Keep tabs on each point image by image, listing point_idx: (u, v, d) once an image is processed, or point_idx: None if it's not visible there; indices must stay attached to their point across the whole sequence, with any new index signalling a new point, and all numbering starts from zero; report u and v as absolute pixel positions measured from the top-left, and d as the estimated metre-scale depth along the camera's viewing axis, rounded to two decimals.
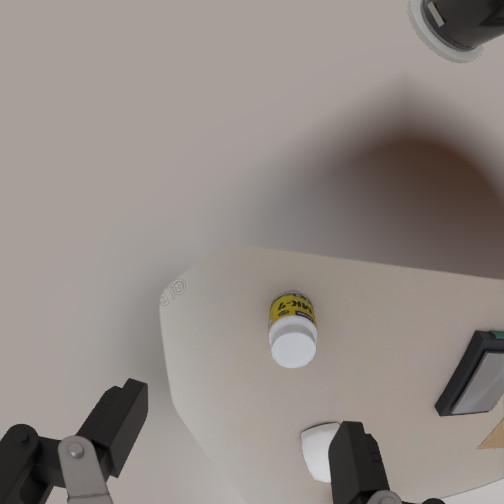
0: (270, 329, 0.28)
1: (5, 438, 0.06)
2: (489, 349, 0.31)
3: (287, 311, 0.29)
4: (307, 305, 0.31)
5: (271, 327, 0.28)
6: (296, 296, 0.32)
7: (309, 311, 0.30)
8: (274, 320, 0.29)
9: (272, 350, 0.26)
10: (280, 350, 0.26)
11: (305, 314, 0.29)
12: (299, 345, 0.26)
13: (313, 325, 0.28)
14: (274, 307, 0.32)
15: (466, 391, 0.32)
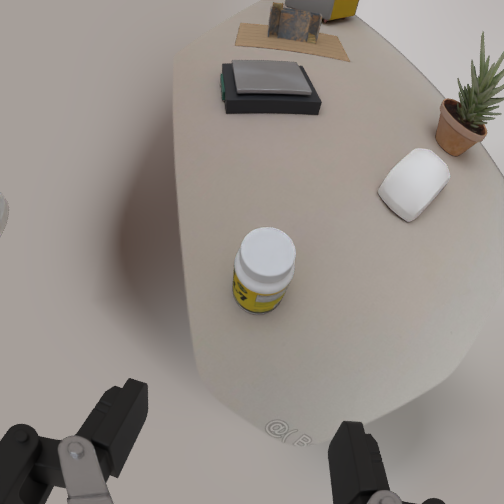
0: (263, 292, 0.23)
1: (5, 438, 0.06)
2: (236, 91, 0.41)
3: (238, 284, 0.24)
4: None
5: (260, 292, 0.23)
6: (233, 288, 0.28)
7: None
8: (252, 293, 0.23)
9: (277, 274, 0.21)
10: (273, 265, 0.21)
11: (234, 263, 0.25)
12: (257, 247, 0.22)
13: (240, 248, 0.24)
14: (251, 305, 0.26)
15: (282, 90, 0.40)
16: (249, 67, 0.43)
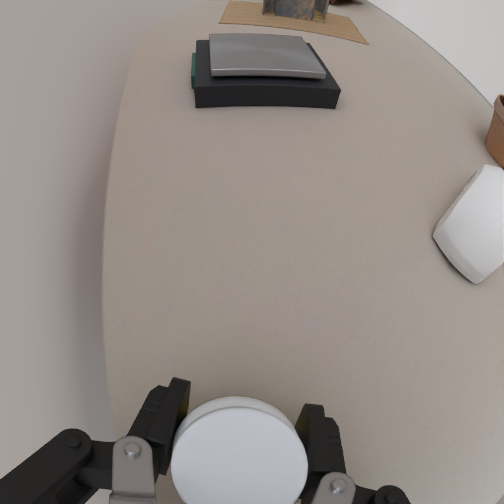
0: None
1: (55, 440, 0.07)
2: (210, 74, 0.26)
3: None
4: None
5: None
6: None
7: None
8: None
9: None
10: None
11: None
12: (212, 464, 0.07)
13: (183, 421, 0.10)
14: None
15: (282, 70, 0.25)
16: (233, 41, 0.28)
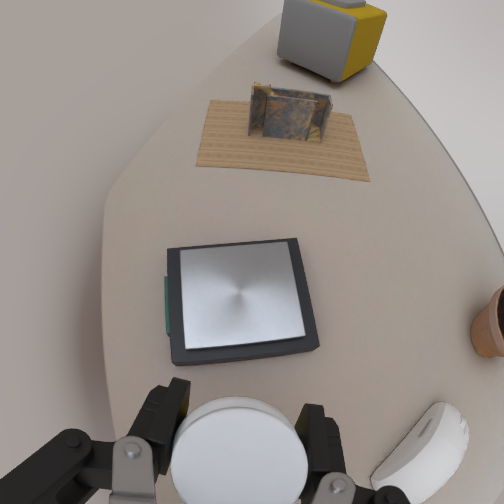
0: None
1: (55, 439, 0.07)
2: None
3: None
4: None
5: None
6: None
7: None
8: None
9: None
10: None
11: None
12: (212, 464, 0.07)
13: (183, 422, 0.09)
14: None
15: (258, 341, 0.27)
16: (207, 273, 0.30)
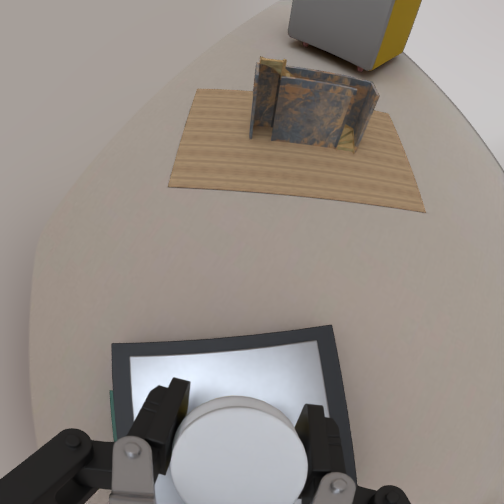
0: None
1: (55, 440, 0.07)
2: None
3: None
4: None
5: None
6: None
7: None
8: None
9: None
10: None
11: None
12: (212, 464, 0.07)
13: (183, 421, 0.10)
14: None
15: None
16: None
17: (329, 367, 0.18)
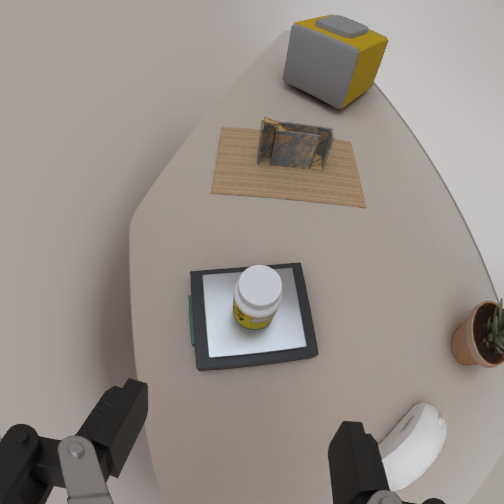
0: (256, 316, 0.29)
1: (5, 438, 0.06)
2: None
3: (237, 308, 0.30)
4: None
5: (254, 316, 0.29)
6: (233, 309, 0.33)
7: None
8: (248, 316, 0.29)
9: (267, 303, 0.27)
10: (264, 296, 0.27)
11: None
12: (252, 282, 0.28)
13: (238, 280, 0.30)
14: (247, 324, 0.32)
15: (268, 351, 0.33)
16: (226, 295, 0.36)
17: (299, 282, 0.38)
